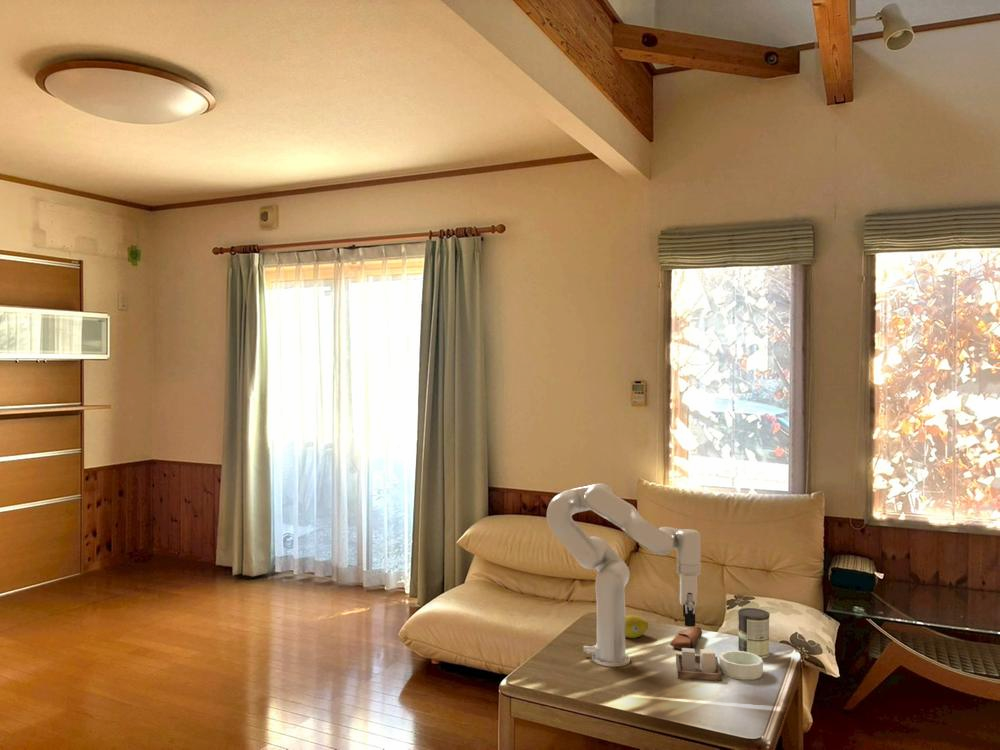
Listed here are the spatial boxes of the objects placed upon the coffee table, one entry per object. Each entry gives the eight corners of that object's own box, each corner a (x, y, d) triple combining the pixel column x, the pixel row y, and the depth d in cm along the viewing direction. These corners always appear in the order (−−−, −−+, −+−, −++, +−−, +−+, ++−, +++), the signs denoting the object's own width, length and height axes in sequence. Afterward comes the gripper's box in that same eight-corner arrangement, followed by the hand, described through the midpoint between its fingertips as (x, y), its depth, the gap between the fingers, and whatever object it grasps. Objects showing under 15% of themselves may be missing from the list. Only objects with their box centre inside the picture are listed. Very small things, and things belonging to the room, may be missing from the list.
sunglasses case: (678, 629, 279) (689, 617, 277) (693, 643, 277) (705, 631, 275) (668, 644, 262) (680, 631, 261) (684, 659, 260) (696, 646, 259)
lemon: (617, 640, 272) (617, 618, 272) (618, 633, 280) (618, 611, 280) (648, 642, 270) (648, 620, 270) (648, 635, 278) (648, 613, 278)
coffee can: (732, 653, 259) (732, 612, 259) (746, 646, 267) (746, 606, 267) (761, 661, 252) (761, 618, 252) (774, 653, 259) (774, 612, 259)
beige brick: (702, 672, 241) (702, 653, 241) (700, 667, 245) (700, 649, 245) (715, 672, 241) (715, 653, 241) (712, 668, 244) (712, 649, 245)
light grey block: (682, 670, 243) (682, 651, 243) (681, 666, 246) (681, 647, 246) (695, 671, 242) (695, 652, 242) (694, 667, 245) (694, 648, 245)
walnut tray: (678, 678, 237) (678, 671, 237) (675, 660, 252) (675, 653, 252) (721, 681, 234) (721, 674, 234) (716, 663, 250) (716, 656, 250)
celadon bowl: (722, 678, 237) (722, 663, 237) (718, 663, 250) (718, 649, 250) (765, 681, 235) (765, 666, 235) (759, 666, 247) (759, 652, 248)
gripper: (675, 561, 253) (676, 612, 253) (678, 574, 236) (678, 629, 236) (698, 562, 252) (699, 614, 252) (702, 575, 235) (703, 630, 235)
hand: (689, 621), depth 244 cm, fingers open, 9 cm apart
